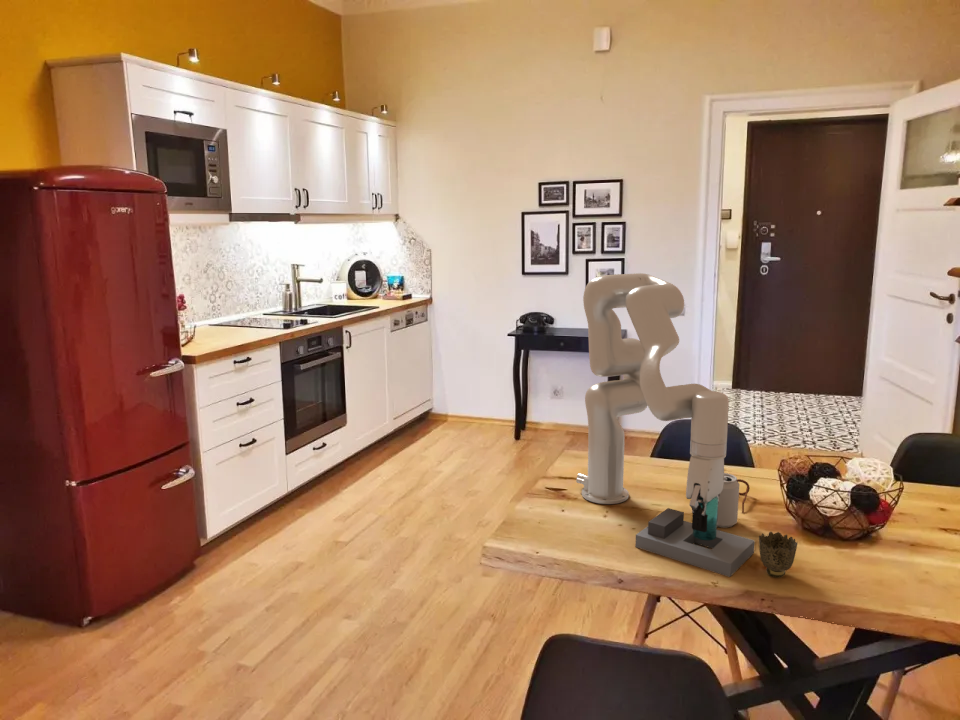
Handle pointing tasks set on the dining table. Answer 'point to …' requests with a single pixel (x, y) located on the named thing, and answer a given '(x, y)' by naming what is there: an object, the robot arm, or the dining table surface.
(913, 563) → the dining table surface
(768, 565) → the cup
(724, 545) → the plate
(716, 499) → the teal translucent cylinder
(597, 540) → the dining table surface
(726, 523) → the can
